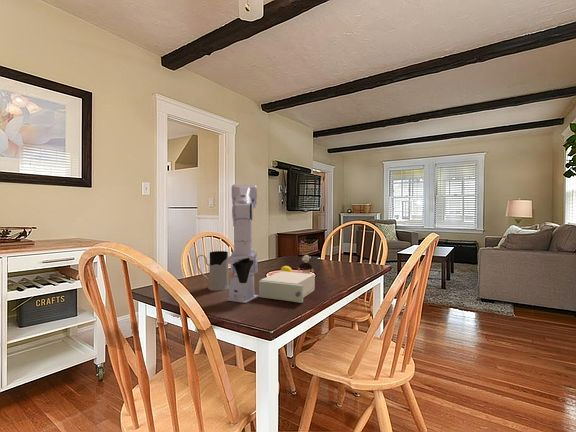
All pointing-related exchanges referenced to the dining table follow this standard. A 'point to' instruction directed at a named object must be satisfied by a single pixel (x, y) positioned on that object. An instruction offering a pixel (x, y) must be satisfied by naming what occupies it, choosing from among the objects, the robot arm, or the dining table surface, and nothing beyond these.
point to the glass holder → (217, 270)
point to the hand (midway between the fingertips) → (243, 282)
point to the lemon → (286, 269)
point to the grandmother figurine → (306, 265)
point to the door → (281, 291)
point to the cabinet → (294, 280)
